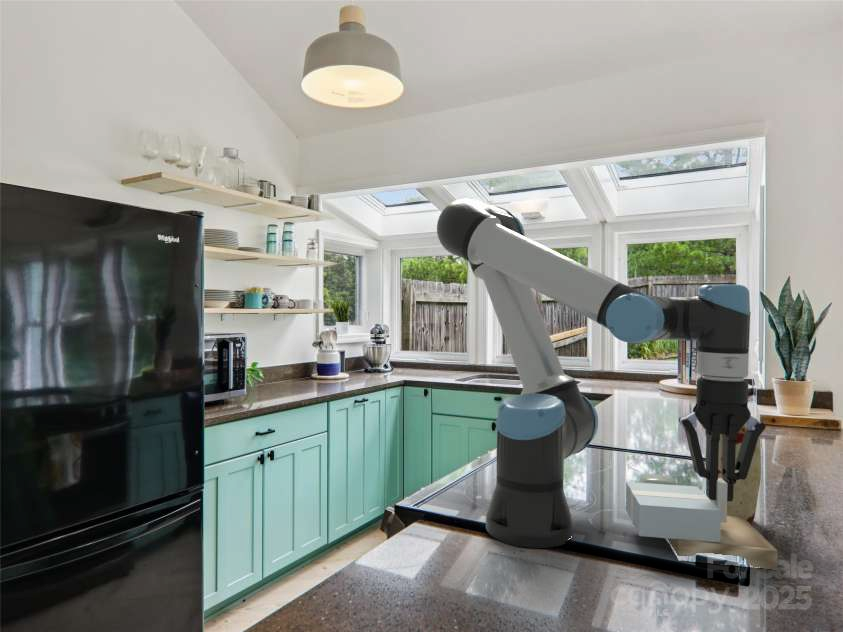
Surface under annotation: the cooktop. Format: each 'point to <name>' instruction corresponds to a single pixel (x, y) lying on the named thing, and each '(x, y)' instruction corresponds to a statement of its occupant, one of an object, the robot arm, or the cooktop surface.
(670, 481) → the pale green rounded knob
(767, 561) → the tan square plate
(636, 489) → the flat box
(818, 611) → the cooktop surface
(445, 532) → the cooktop surface
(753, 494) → the food model
